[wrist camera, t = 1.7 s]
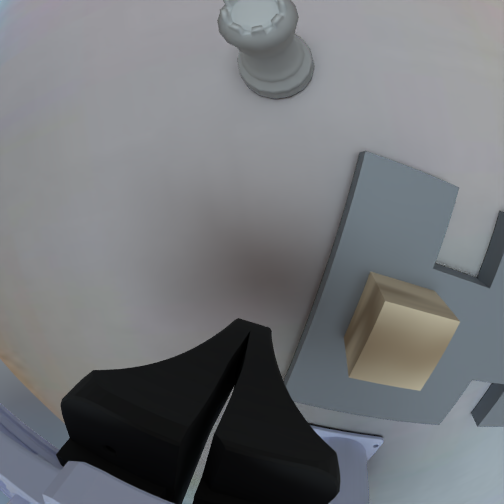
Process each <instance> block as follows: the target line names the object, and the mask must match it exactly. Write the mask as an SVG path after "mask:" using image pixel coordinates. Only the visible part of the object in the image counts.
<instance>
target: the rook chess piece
mask: <svg viewBox="0 0 504 504" xmlns="http://www.w3.org/2000/svg"><path fill="white" fill-rule="evenodd" d="M223 1H224V3H225V5H224V6H223V8H222V9H221V10H220V14H219V17H218V20H217V21H218V27H219V32H220V34H221V35H222V36H223V37H224V39H225V40H226V41H227V42H228V43H230V44H232V45H234V46H235V47H237V48H238V49H239V50H240V53H239V56H238V67H239V73H240V75H241V76H242V79H243V80H244V82H245V83H246V84H247V86H248V87H249V89H251V90H252V91H254V92H256V93H257V94H259V95H260V96H264V97H269V98H274V99H277V98H284V97H290V96H292V95H294V94H296V93H297V92H299V91H301V90H303V89H304V87H305V86H306V85H307V84H308V82H309V81H310V80H311V78H312V74H313V70H314V63H313V58H312V54H311V51H310V48H309V47H308V46H307V44H306V43H305V42H304V41H303V39H302V38H301V37H299V36H297V35H296V34H295V29H296V25H297V22H298V18H299V17H298V13H297V9H296V6H295V4H294V3H293V2H292V1H291V0H223Z"/></svg>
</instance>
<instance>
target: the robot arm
mask: <svg viewBox="0 0 504 504" xmlns="http://www.w3.org/2000/svg"><path fill="white" fill-rule="evenodd" d="M271 332H272V331H271V329H270V328H269V327H265V326H262V325H259V324H255V323H252V322H249V321H245V320H242V319H239V318H238V319H236V320H234V321H233V322H232V323H231V324H230V325H229V326H227V327H226V328H225V329H223V330H222V331H221V332H219V333H218V334H216V335H215V336H213V337H212V338H210V339H209V340H207V341H206V342H204V343H202V344H200V345H198V346H197V347H195V348H193V349H191V350H189V351H187V352H185V353H182V354H180V355H178V356H175V357H173V358H170V359H167V360H163V361H160V362H157V363H153V364H149V365H144V366H139V367H133V368H126V369H114V370H93V371H92V372H91V373H89V374H88V375H87V376H85V377H84V378H83V379H82V380H81V381H80V382H79V383H78V384H77V385H76V386H75V387H74V388H73V389H72V390H71V391H70V392H69V393H68V394H67V395H66V396H65V397H64V398H63V399H62V402H61V410H62V415H63V419H64V422H65V425H66V428H67V431H68V434H69V437H70V438H69V440H68V441H67V442H66V443H65V444H64V445H63V447H62V448H61V449H60V450H59V449H58V448H56V447H55V446H53V445H52V444H51V443H49V442H48V441H46V440H45V439H44V438H42V437H41V436H40V435H38V434H37V433H36V432H34V431H33V430H32V429H31V428H29V427H28V426H27V425H26V424H24V423H23V422H22V421H21V420H19V419H18V418H17V417H16V416H15V415H13V414H12V413H11V412H10V411H9V410H8V409H7V408H5V406H3V405H2V404H1V403H0V490H1V491H2V492H3V493H4V494H5V495H6V496H7V497H8V498H9V499H10V501H9V502H8V503H7V504H182V502H183V499H184V497H185V494H186V492H187V489H188V487H189V484H190V482H191V479H192V477H193V474H194V472H195V469H196V467H197V464H198V462H199V459H200V457H201V454H202V452H203V449H204V447H205V444H206V442H207V439H208V437H209V434H210V432H211V430H212V428H213V426H214V424H215V422H216V420H217V418H218V416H219V414H220V412H221V410H222V408H223V406H224V405H225V403H226V401H227V399H228V397H229V395H230V393H231V391H232V389H233V387H234V390H233V393H232V396H231V398H230V400H229V403H228V405H227V407H226V410H225V412H224V414H223V416H222V418H221V420H220V423H219V425H218V427H217V429H216V431H215V433H214V436H213V440H212V443H211V447H210V451H209V454H208V458H207V461H206V465H205V468H204V472H203V475H202V478H201V481H200V483H199V486H198V488H197V490H196V493H195V496H194V501H193V504H369V484H368V469H367V461H368V460H369V459H370V458H371V457H372V455H373V454H374V453H375V452H376V451H377V450H378V448H379V447H380V446H381V445H382V444H383V442H384V440H383V438H382V437H377V436H369V435H362V434H356V433H349V432H343V431H338V430H332V429H327V428H322V427H317V426H312V425H309V424H308V422H307V421H306V420H305V418H304V417H303V415H302V414H301V413H300V411H299V410H298V408H297V407H296V405H295V403H294V402H293V400H292V398H291V396H290V394H289V392H288V390H287V388H286V386H285V384H284V381H283V379H282V376H281V374H280V371H279V368H278V365H277V361H276V358H275V354H274V350H273V344H272V336H271ZM234 385H235V386H234Z"/></svg>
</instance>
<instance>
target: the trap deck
mask: <svg viewBox="0 0 504 504" xmlns="http://www.w3.org/2000/svg"><path fill="white" fill-rule="evenodd" d="M458 190H459V187H457V186H455V185H452V184H450V183H448V182H446V181H443V180H441V179H439V178H436V177H434V176H431V175H429V174H427V173H424V172H422V171H419V170H417V169H414V168H411V167H409V166H406V165H404V164H401V163H398V162H396V161H393V160H390V159H387V158H384V157H382V156H379V155H376V154H373V153H370V152H367V151H364V152H361V153H360V154H359V158H358V162H357V166H356V170H355V173H354V177H353V181H352V184H351V188H350V192H349V195H348V199H347V202H346V206H345V209H344V213H343V216H342V219H341V223H340V226H339V229H338V232H337V236H336V239H335V242H334V245H333V248H332V251H331V255H330V258H329V261H328V264H327V267H326V270H325V273H324V276H323V279H322V282H321V285H320V287H319V290H318V293H317V296H316V299H315V302H314V304H313V307H312V310H311V313H310V315H309V318H308V321H307V324H306V326H305V329H304V332H303V334H302V337H301V339H300V342H299V345H298V347H297V350H296V352H295V355H294V357H293V360H292V362H291V365H290V367H289V370H288V372H287V375H286V377H285V380H284V384H285V386H286V388H287V390H288V392H289V394H290V396H291V398H292V400H293V401H294V402H298V403H302V404H306V405H311V406H315V407H320V408H324V409H329V410H334V411H339V412H344V413H350V414H355V415H361V416H367V417H373V418H380V419H387V420H394V421H402V422H411V423H421V424H433V425H439V424H440V423H441V422H442V421H443V419H444V418H445V417H446V416H447V414H448V413H449V412H450V410H451V409H452V408H453V406H454V405H455V404H456V402H457V401H458V399H459V398H460V397H461V395H462V394H463V392H464V391H465V389H466V388H467V387H468V385H469V384H470V382H471V381H472V380H475V381H483V382H490V383H492V385H491V386H490V388H489V389H488V390H487V392H486V393H485V395H484V396H483V398H482V399H481V400H480V402H479V403H478V404H477V406H476V407H475V408H474V410H473V411H472V412H471V414H472V416H473V418H474V420H475V422H476V425H477V427H503V426H504V212H502V211H500V212H499V216H498V219H497V223H496V226H495V229H494V232H493V236H492V239H491V242H490V245H489V248H488V250H487V253H486V256H485V259H484V262H483V264H482V267H481V269H480V272H479V274H478V277H477V278H476V277H473V276H470V275H467V274H465V273H462V272H459V271H456V270H453V269H450V268H448V267H445V266H442V265H439V264H436V263H435V262H436V259H437V256H438V254H439V251H440V248H441V245H442V242H443V239H444V237H445V234H446V230H447V227H448V224H449V221H450V218H451V215H452V211H453V208H454V204H455V201H456V197H457V194H458ZM370 271H371V272H374V273H378V274H381V275H384V276H388V277H391V278H394V279H397V280H401V281H404V282H407V283H411V284H414V285H417V286H420V287H424V288H427V289H430V290H433V291H435V292H436V293H437V294H438V295H439V296H440V298H441V299H442V300H443V301H444V302H445V304H446V305H447V306H448V307H449V308H450V310H451V311H452V312H453V313H454V314H455V316H456V317H457V318H458V319H459V321H460V323H459V325H458V327H457V329H456V331H455V333H454V335H453V337H452V339H451V341H450V342H449V344H448V346H447V348H446V350H445V351H444V353H443V355H442V357H441V358H440V360H439V362H438V364H437V365H436V367H435V369H434V370H433V372H432V373H431V375H430V377H429V378H428V380H427V381H426V383H425V384H424V386H423V388H422V389H421V391H418V390H412V389H406V388H400V387H394V386H389V385H383V384H378V383H373V382H368V381H363V380H359V379H354V378H349V376H348V367H347V359H346V351H345V343H344V336H345V333H346V331H347V329H348V326H349V324H350V322H351V319H352V317H353V315H354V312H355V310H356V307H357V305H358V303H359V300H360V298H361V295H362V292H363V290H364V287H365V285H366V282H367V279H368V277H369V274H370Z"/></svg>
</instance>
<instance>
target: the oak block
mask: <svg viewBox="0 0 504 504" xmlns="http://www.w3.org/2000/svg"><path fill="white" fill-rule="evenodd" d="M459 323H460V321H459V319H458V318H457V317H456V316H455V314H454V313H453V312H452V311H451V310H450V308H449V307H448V306H447V305H446V304H445V302H444V301H443V300H442V299H441V298H440V296H439V295H438V294H437V293H436V292H435V291H433V290H430V289H427V288H424V287H420V286H417V285H414V284H411V283H407V282H404V281H401V280H397V279H394V278H391V277H388V276H384V275H381V274H378V273H374V272H371V271H370V274H369V277H368V279H367V282H366V285H365V287H364V290H363V292H362V295H361V298H360V300H359V303H358V305H357V307H356V310H355V312H354V315H353V317H352V319H351V322H350V324H349V326H348V329H347V331H346V333H345V336H344V343H345V351H346V359H347V367H348V376H349V378H354V379H359V380H363V381H368V382H373V383H378V384H383V385H389V386H394V387H400V388H406V389H412V390H418V391H421V389H422V388H423V386H424V384H425V383H426V381H427V380H428V378H429V377H430V375H431V373H432V372H433V370H434V369H435V367H436V365H437V364H438V362H439V360H440V358H441V357H442V355H443V353H444V351H445V350H446V348H447V346H448V344H449V342H450V341H451V339H452V337H453V335H454V333H455V331H456V329H457V327H458V325H459Z"/></svg>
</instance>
